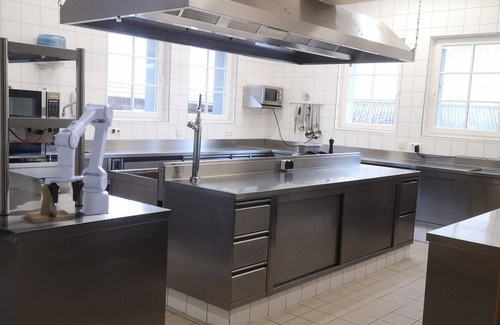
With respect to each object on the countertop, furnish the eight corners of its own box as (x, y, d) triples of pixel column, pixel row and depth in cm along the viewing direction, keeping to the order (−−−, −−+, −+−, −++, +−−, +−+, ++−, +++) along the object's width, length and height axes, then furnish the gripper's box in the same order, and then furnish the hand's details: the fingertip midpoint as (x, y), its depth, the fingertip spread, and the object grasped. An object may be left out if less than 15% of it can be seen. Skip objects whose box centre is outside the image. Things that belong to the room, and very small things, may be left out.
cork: (60, 214, 185) (60, 185, 184) (44, 215, 181) (44, 186, 180) (52, 211, 189) (53, 183, 188) (37, 212, 185) (37, 184, 184)
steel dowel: (55, 215, 182) (55, 202, 182) (57, 216, 180) (57, 203, 180) (48, 216, 181) (48, 202, 180) (50, 217, 179) (50, 203, 179)
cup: (63, 195, 232) (63, 170, 230) (54, 193, 235) (54, 169, 234) (75, 194, 238) (76, 169, 237) (66, 192, 241) (67, 168, 240)
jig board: (62, 213, 193) (62, 209, 193) (73, 219, 184) (73, 215, 184) (25, 216, 185) (25, 212, 184) (34, 223, 175) (34, 218, 175)
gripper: (78, 163, 185) (78, 198, 186) (41, 164, 174) (40, 202, 175) (88, 165, 180) (87, 201, 182) (50, 167, 169) (50, 205, 171)
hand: (65, 202), depth 178 cm, fingers open, 7 cm apart
